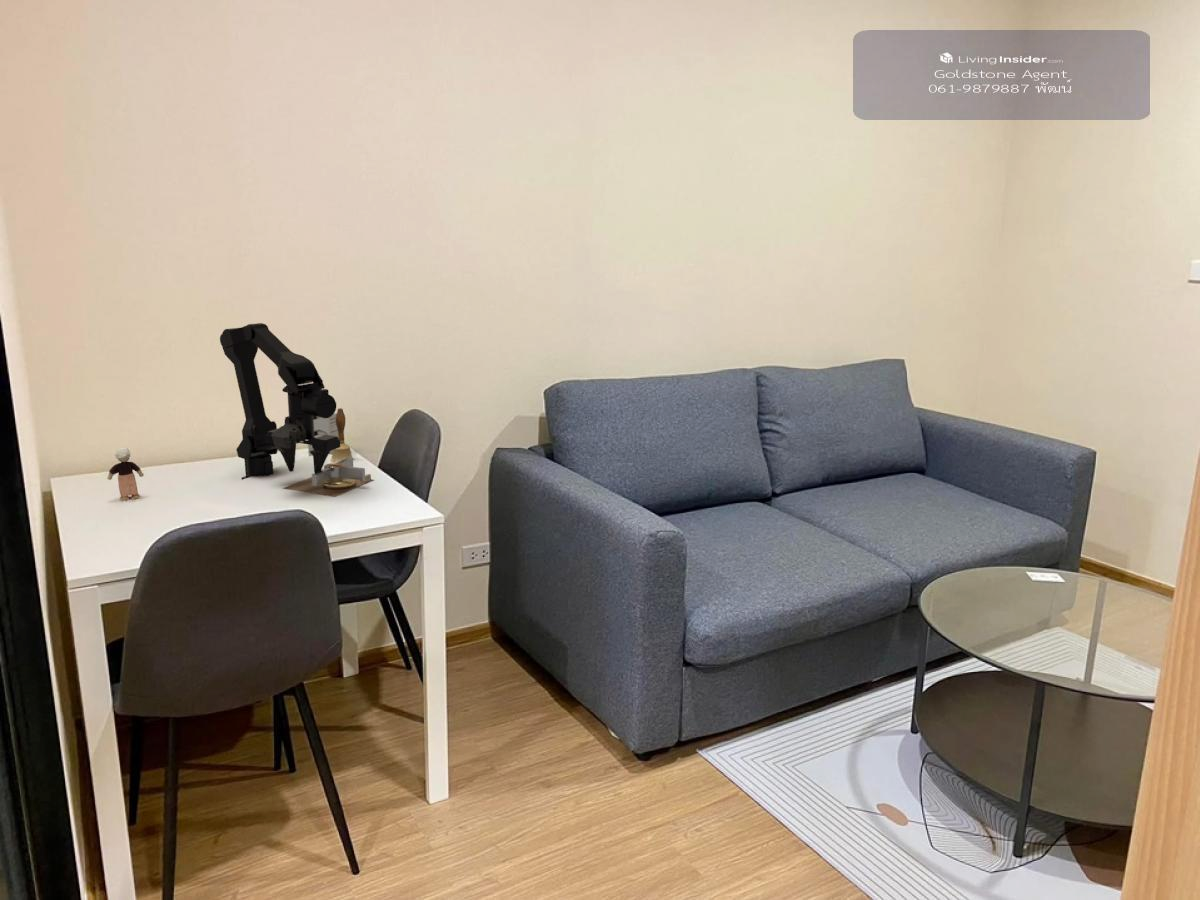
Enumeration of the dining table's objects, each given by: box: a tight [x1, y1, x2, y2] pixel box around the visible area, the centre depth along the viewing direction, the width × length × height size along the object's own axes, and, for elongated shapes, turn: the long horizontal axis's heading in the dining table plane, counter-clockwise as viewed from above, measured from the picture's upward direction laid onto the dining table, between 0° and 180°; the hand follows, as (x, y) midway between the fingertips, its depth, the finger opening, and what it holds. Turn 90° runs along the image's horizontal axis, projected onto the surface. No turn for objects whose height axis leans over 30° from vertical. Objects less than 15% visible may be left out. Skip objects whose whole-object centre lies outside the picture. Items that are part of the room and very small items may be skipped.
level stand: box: [282, 473, 375, 498], centre depth 233 cm, size 16×16×3 cm
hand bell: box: [329, 407, 355, 463], centre depth 254 cm, size 8×8×16 cm
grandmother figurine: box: [107, 447, 144, 501], centre depth 222 cm, size 8×4×13 cm, turn 134°
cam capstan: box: [311, 456, 366, 489], centre depth 231 cm, size 11×17×5 cm, turn 164°
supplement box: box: [307, 410, 338, 457], centre depth 265 cm, size 7×7×13 cm
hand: (304, 473), depth 229 cm, fingers open, 8 cm apart
